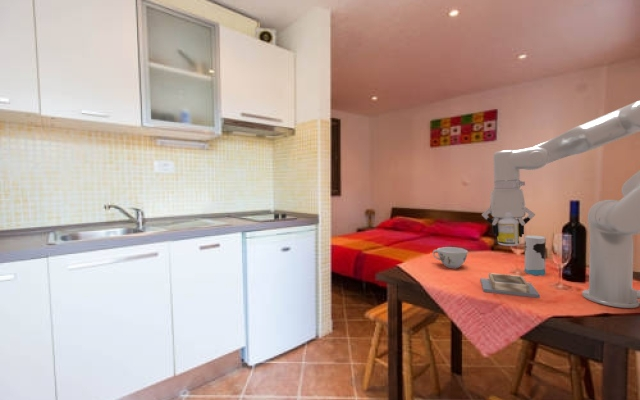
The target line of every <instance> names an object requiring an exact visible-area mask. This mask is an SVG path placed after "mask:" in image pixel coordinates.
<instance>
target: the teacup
mask: <svg viewBox="0 0 640 400" xmlns="http://www.w3.org/2000/svg"><path fill="white" fill-rule="evenodd" d="M435 253H437V256H436V255H435ZM432 255H433V257H434V258H435V259H436V260H438V261H440V262H441V263H442V265H444V267H446V268H449V269H458V268H460V267H461V266H462V265H463V264H464V263H465V261H467V260H466V259H467V258H468V257H467V256H468V250H467V249H464V248H462V247H455V246H453V247H452V246H445V247H444V246H443V247H438V248H437V249H433V251H432Z"/></svg>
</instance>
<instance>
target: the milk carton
mask: <svg viewBox="0 0 640 400" xmlns="http://www.w3.org/2000/svg"><path fill="white" fill-rule="evenodd" d="M546 241H547V239H546V237H545V236H540V235H525V236H524V273H525V272H526V273H525V274H527V273H528V274H527V275H532V276H537V275H541V276H545V275H546Z"/></svg>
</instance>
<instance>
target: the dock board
mask: <svg viewBox="0 0 640 400" xmlns="http://www.w3.org/2000/svg"><path fill="white" fill-rule="evenodd" d="M479 281H480V284H481V287H482V290H483V292H484V293H492V294H500V295H508V296H509V295H510V296H520V297H528V298H537V299H539V298H541V295H540V293H539V292H538V291H537V289H536V288H535V286H533V284H532V283H531V282H527V283H528V285H529V293H523V292H514V291H504V290H495V289H492V287H491V284H490V282H489V278H483V277H481V278H480V280H479ZM495 282H503V281H495ZM503 283H513V282H503ZM513 284H520V283H513Z"/></svg>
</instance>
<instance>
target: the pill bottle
mask: <svg viewBox="0 0 640 400" xmlns="http://www.w3.org/2000/svg"><path fill="white" fill-rule="evenodd" d="M505 216H506V217H505V218H499V219H498V221H497V226H498V236H497V237H496V238H497V244H498V245H500V246H506V247H507V246H509V247H514V246H519V244H520V237H519V221H518V220H517V218H512V217H511V216H512V214H511V213H506V214H505Z"/></svg>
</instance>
